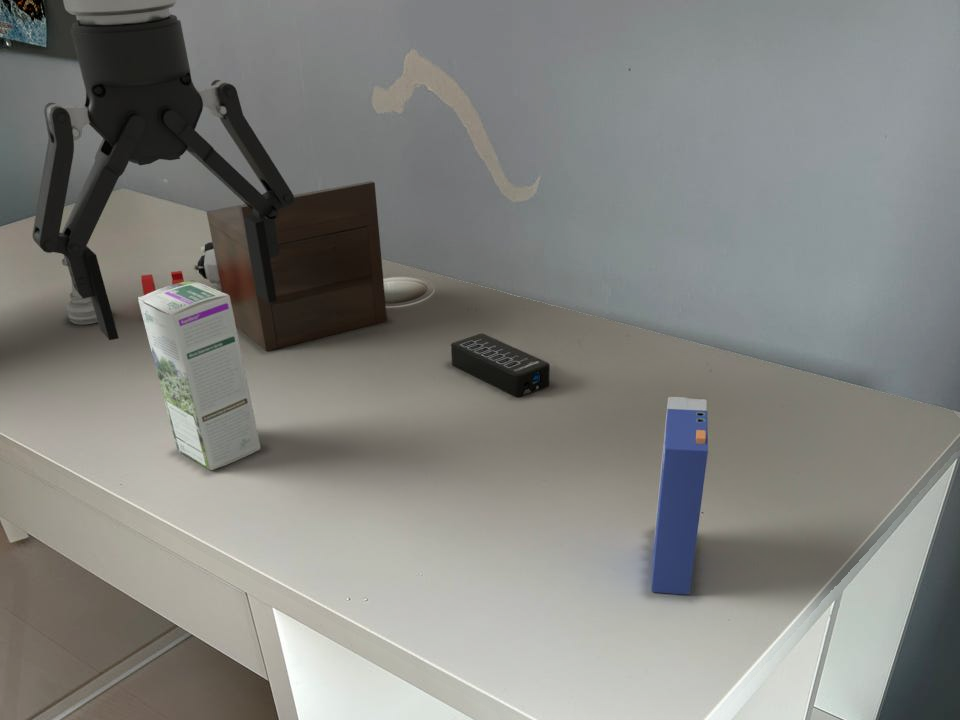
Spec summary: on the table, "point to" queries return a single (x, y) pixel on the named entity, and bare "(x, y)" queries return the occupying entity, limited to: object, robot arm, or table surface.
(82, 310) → the chess piece
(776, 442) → the table surface
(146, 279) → the bracket
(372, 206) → the wooden drawer cabinet
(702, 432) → the walkman
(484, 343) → the multiport hub
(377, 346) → the table surface
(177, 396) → the syrup box
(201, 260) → the robot toy
